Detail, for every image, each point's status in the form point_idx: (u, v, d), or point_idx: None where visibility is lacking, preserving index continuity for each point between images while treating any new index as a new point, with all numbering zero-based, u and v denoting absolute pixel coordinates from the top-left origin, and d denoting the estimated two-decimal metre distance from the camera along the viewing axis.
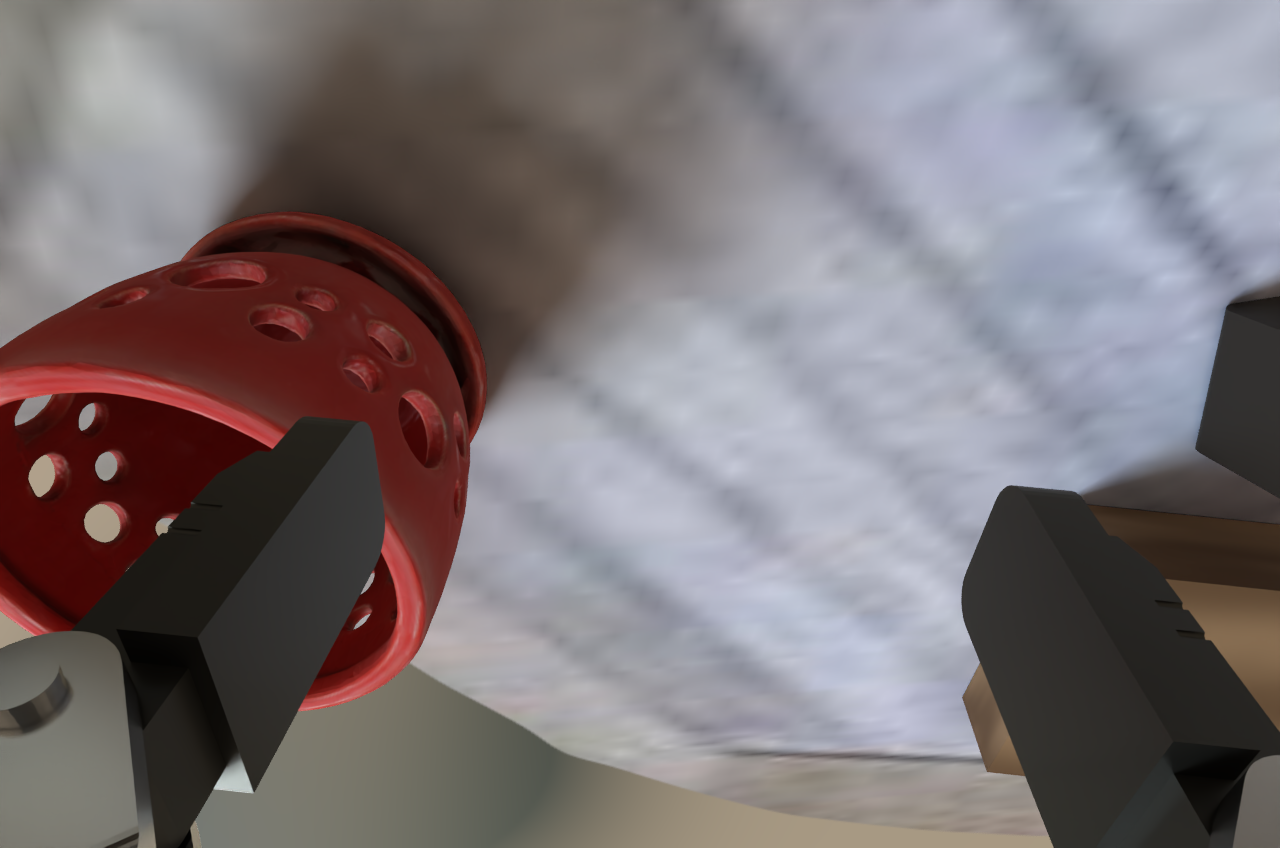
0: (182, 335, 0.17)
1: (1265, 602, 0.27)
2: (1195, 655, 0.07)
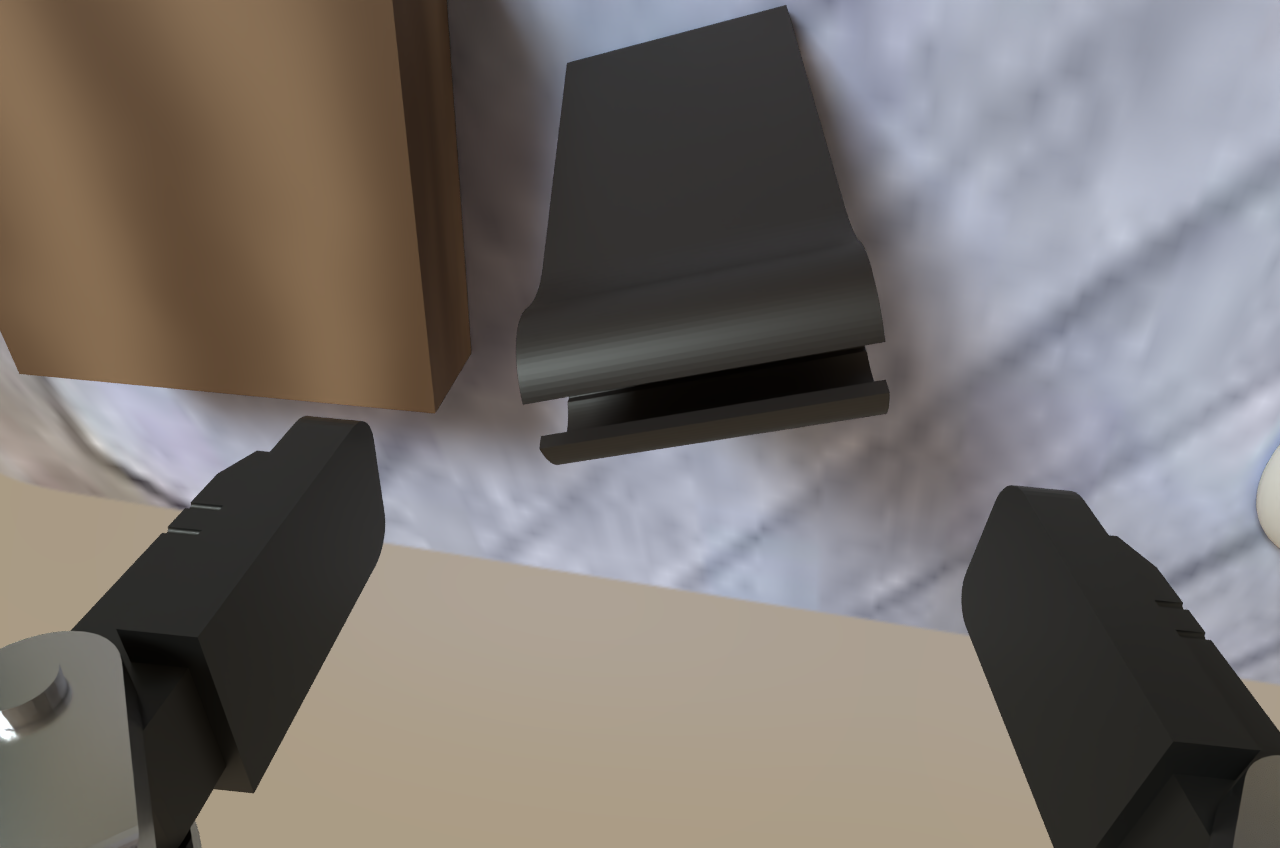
0: None
1: (386, 177, 0.19)
2: (1195, 655, 0.07)
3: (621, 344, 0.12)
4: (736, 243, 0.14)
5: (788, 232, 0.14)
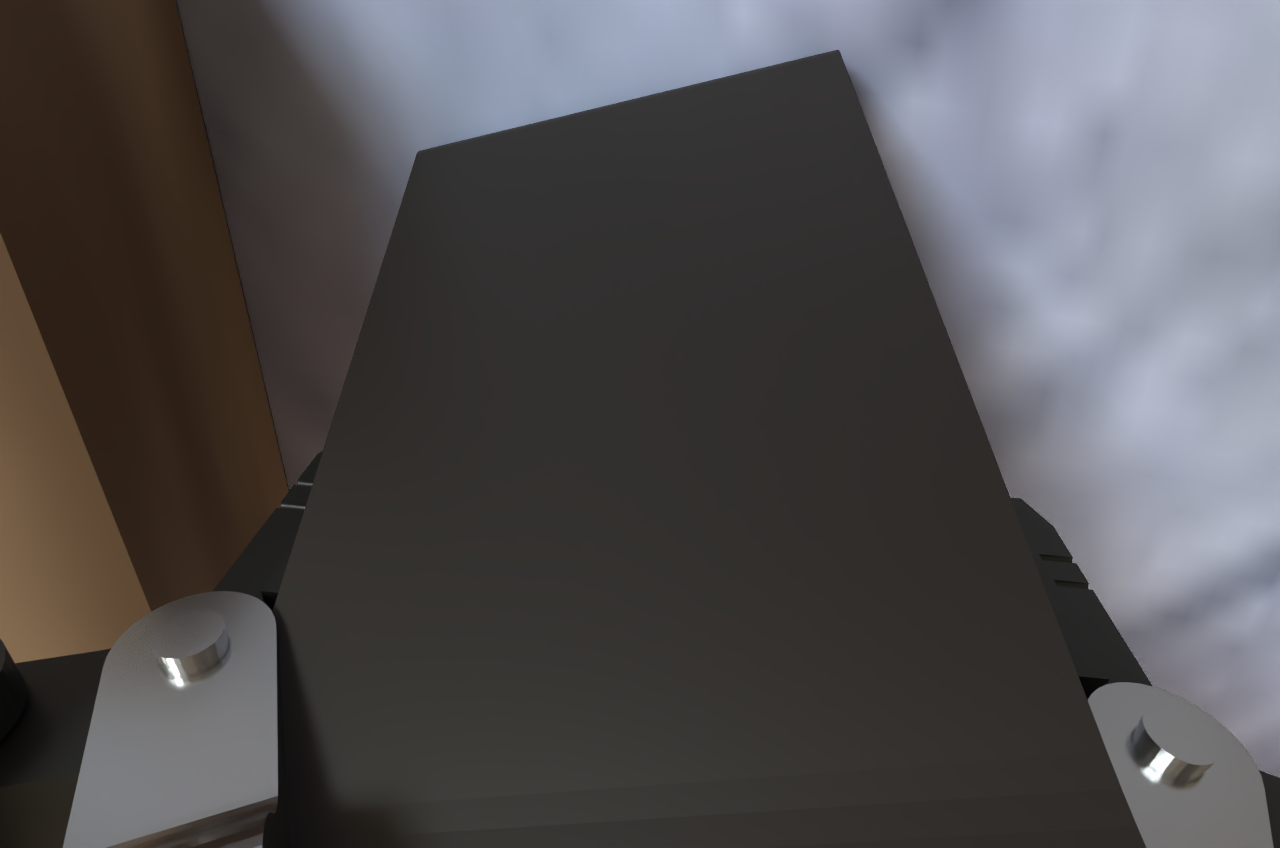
0: None
1: (20, 401, 0.09)
2: (1075, 603, 0.08)
3: None
4: None
5: None
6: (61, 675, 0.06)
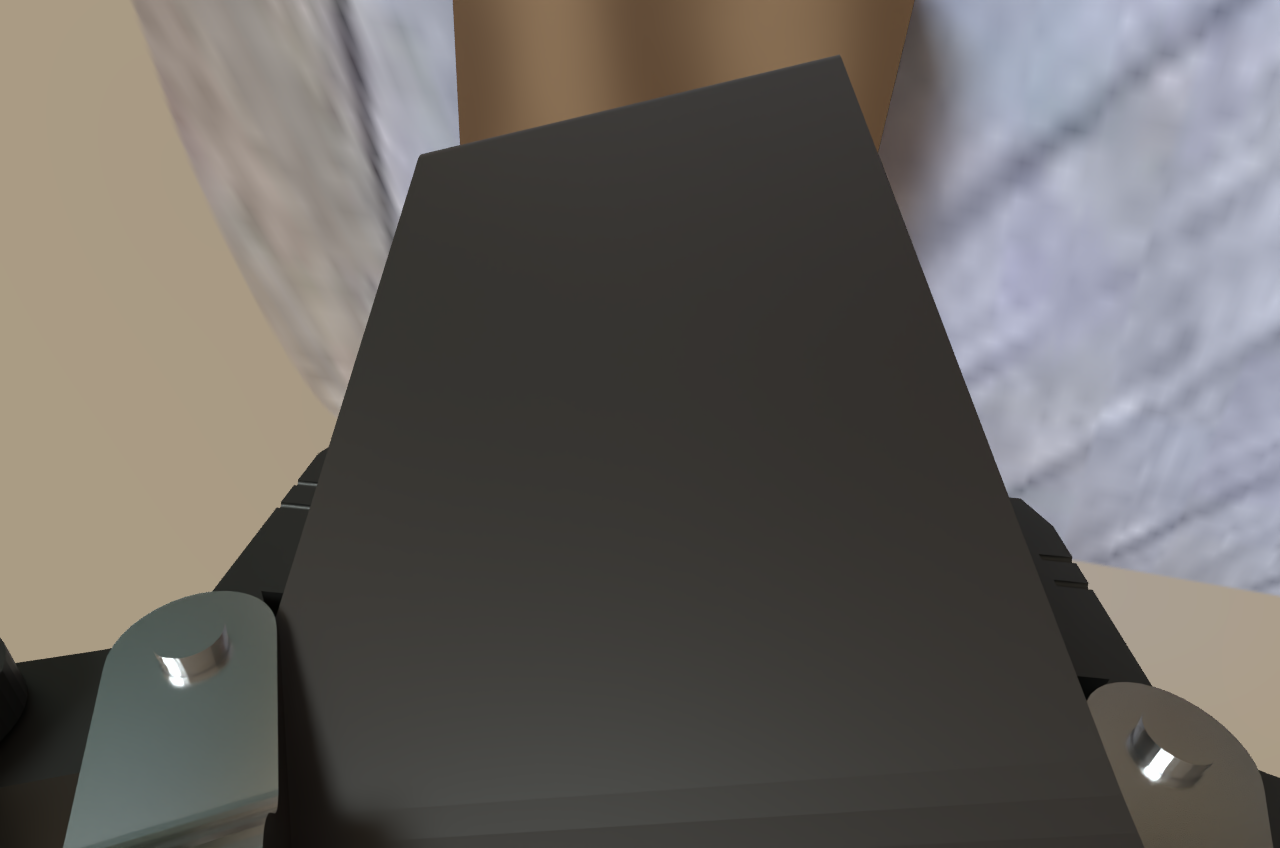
0: None
1: None
2: (1075, 603, 0.08)
3: None
4: None
5: None
6: (61, 675, 0.06)
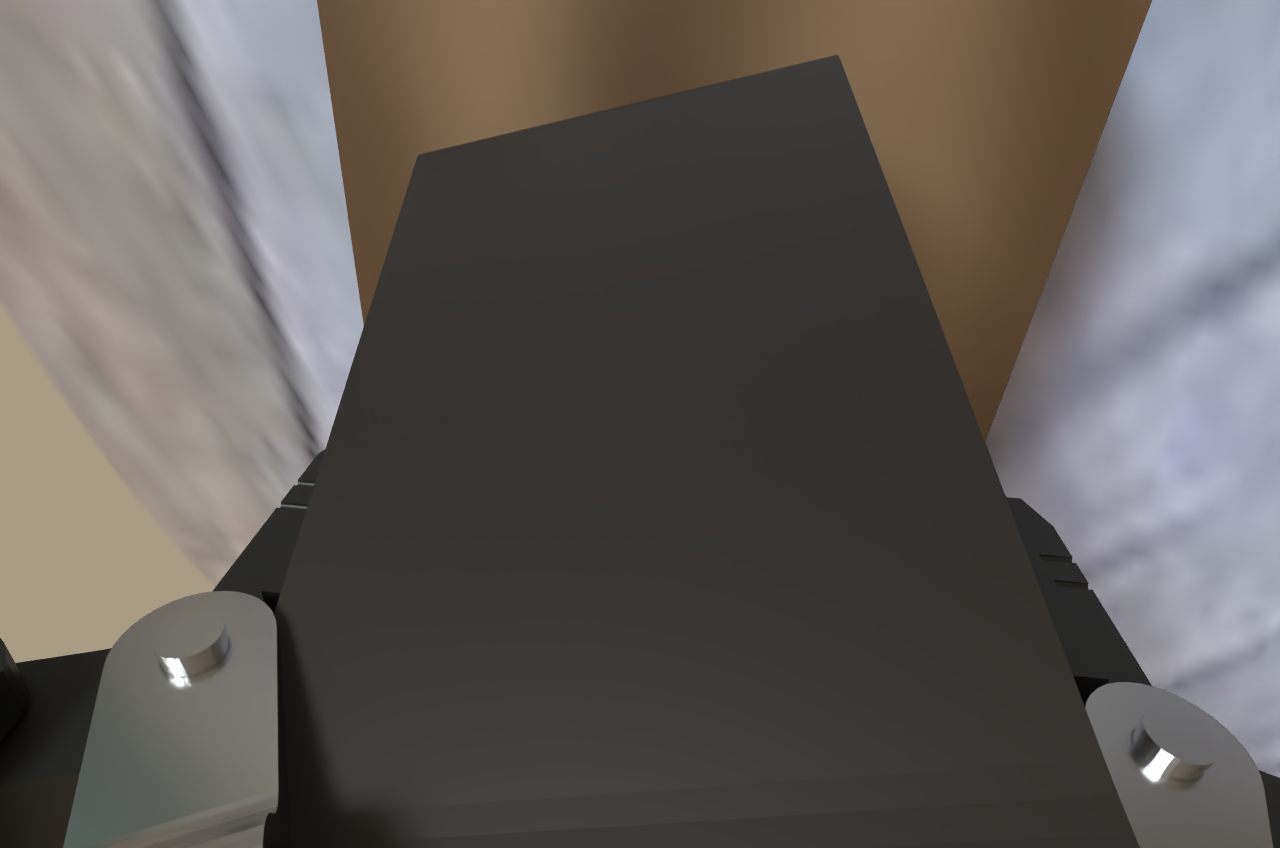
0: None
1: (992, 334, 0.14)
2: (1075, 603, 0.08)
3: None
4: None
5: None
6: (62, 674, 0.06)
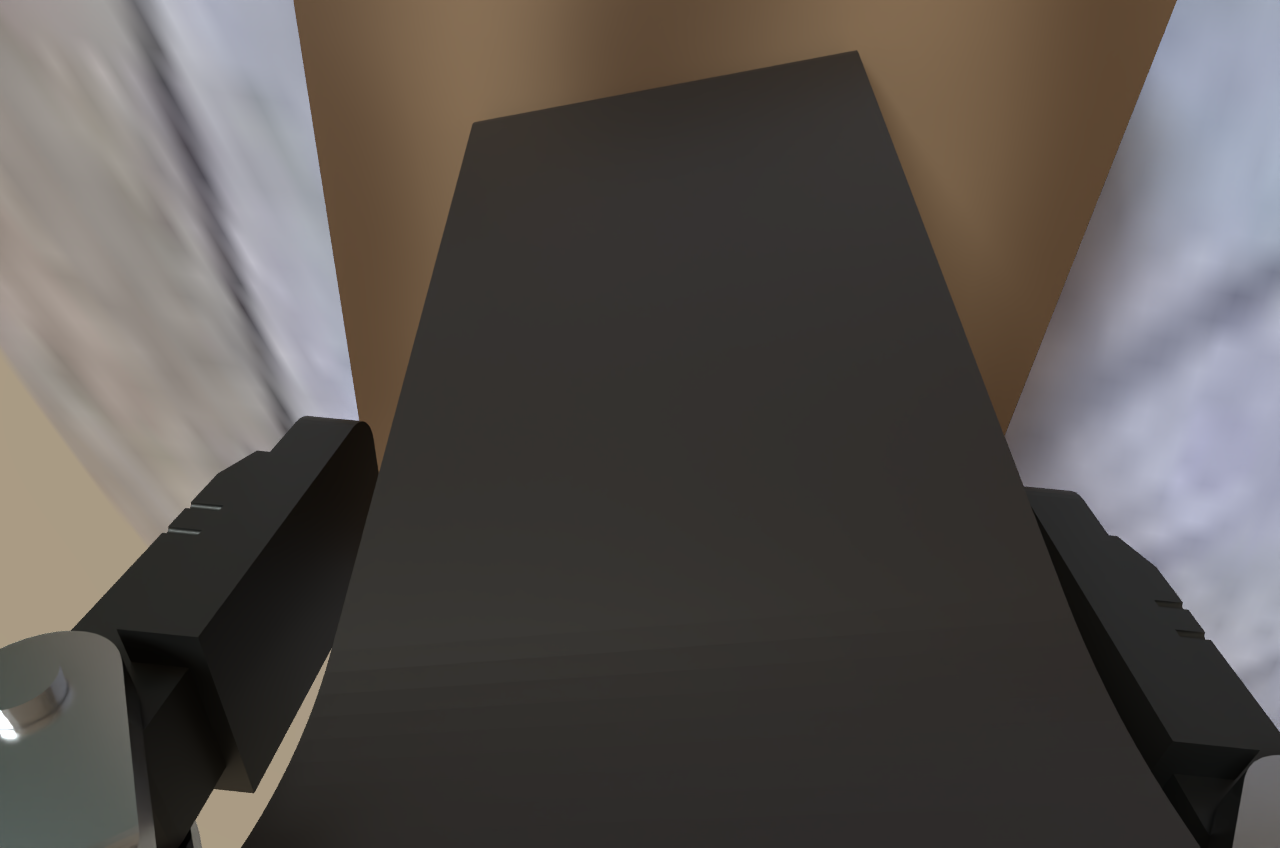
0: None
1: (1004, 346, 0.14)
2: (1195, 655, 0.07)
3: None
4: (793, 674, 0.06)
5: (929, 666, 0.05)
6: None
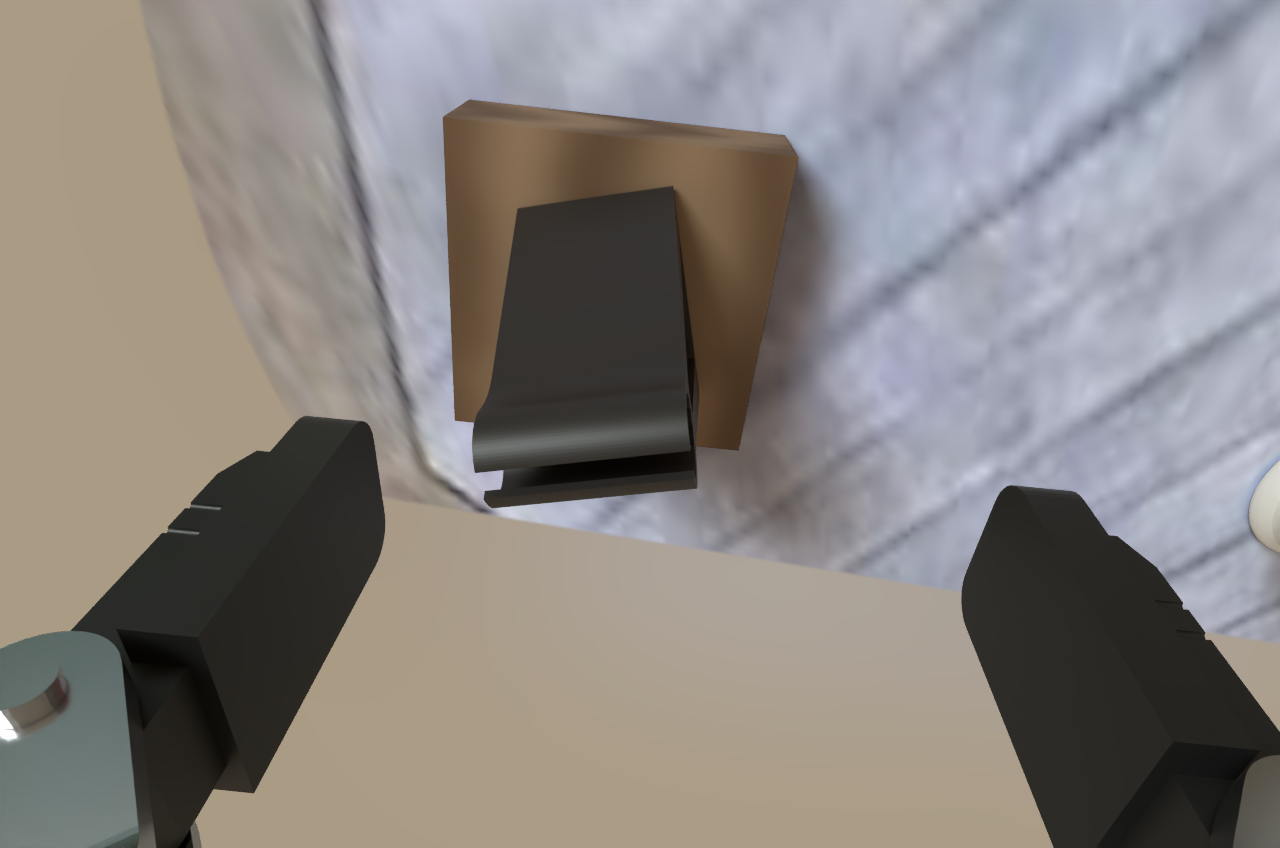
0: None
1: (752, 309, 0.30)
2: (1195, 655, 0.07)
3: (537, 441, 0.20)
4: (616, 373, 0.22)
5: (648, 369, 0.22)
6: None
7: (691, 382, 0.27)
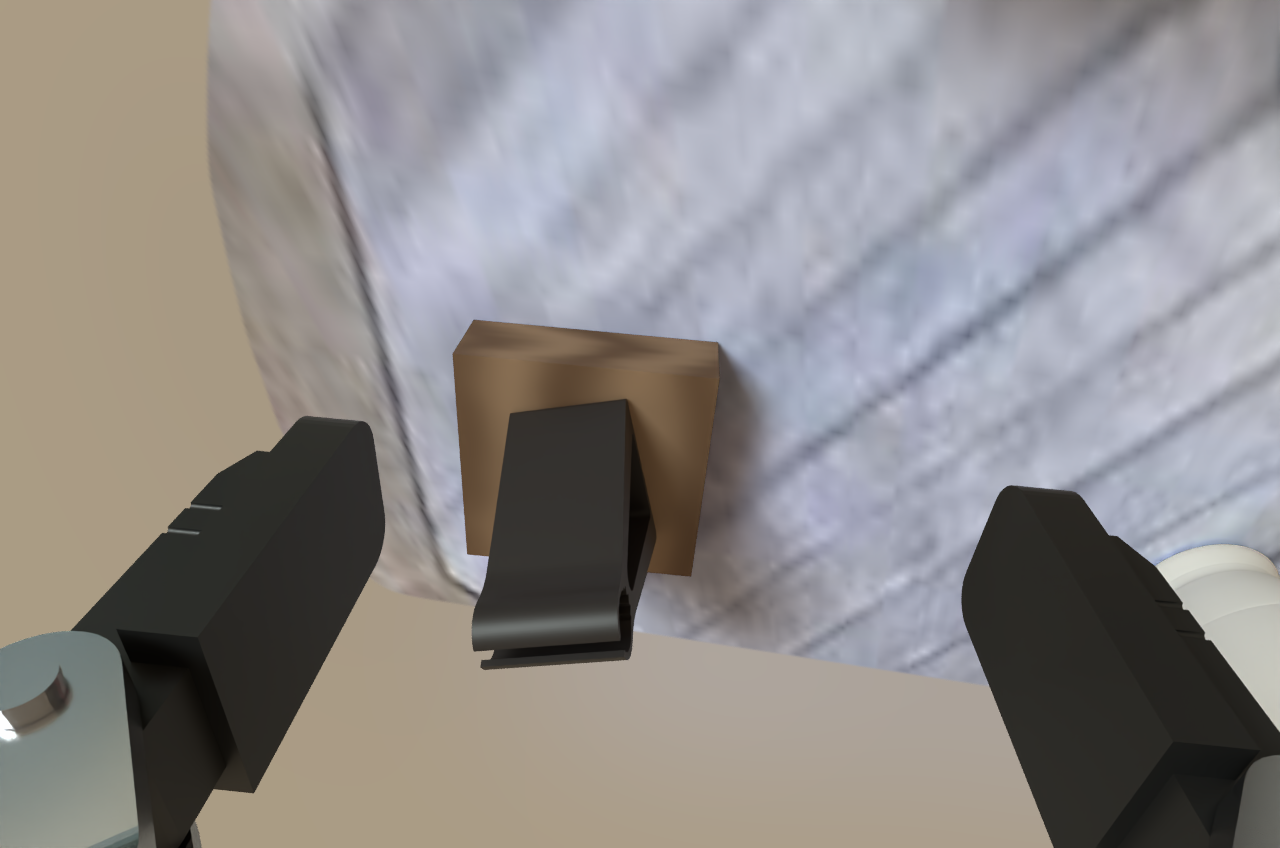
0: None
1: (693, 478, 0.39)
2: (1195, 655, 0.07)
3: (516, 631, 0.29)
4: (573, 571, 0.31)
5: (596, 569, 0.31)
6: None
7: (641, 548, 0.36)
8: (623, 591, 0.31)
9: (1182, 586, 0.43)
